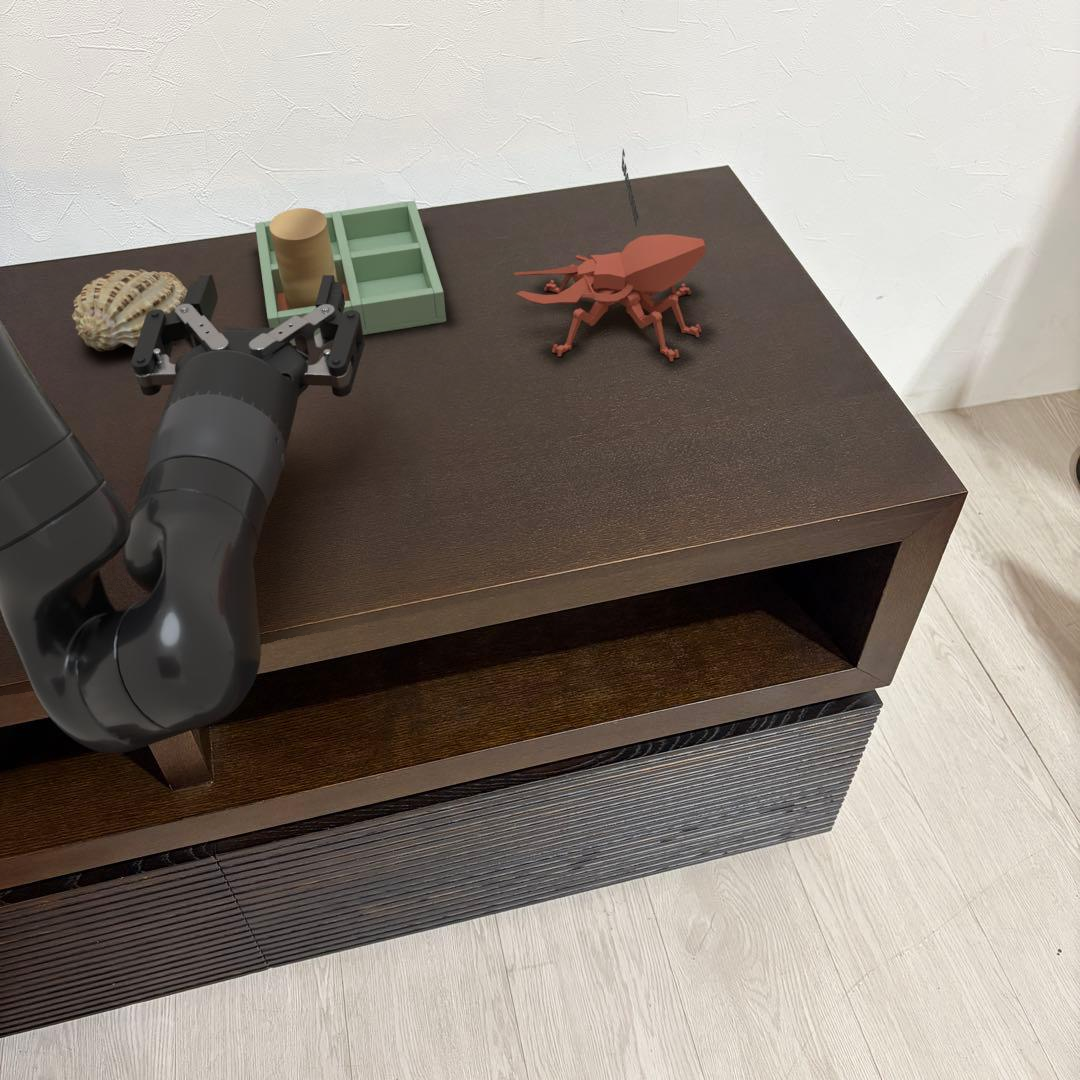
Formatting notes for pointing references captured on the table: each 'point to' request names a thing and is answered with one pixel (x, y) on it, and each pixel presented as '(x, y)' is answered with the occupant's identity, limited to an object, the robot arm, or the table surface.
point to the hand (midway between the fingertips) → (270, 285)
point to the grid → (369, 269)
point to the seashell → (123, 306)
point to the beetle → (627, 281)
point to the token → (302, 254)
